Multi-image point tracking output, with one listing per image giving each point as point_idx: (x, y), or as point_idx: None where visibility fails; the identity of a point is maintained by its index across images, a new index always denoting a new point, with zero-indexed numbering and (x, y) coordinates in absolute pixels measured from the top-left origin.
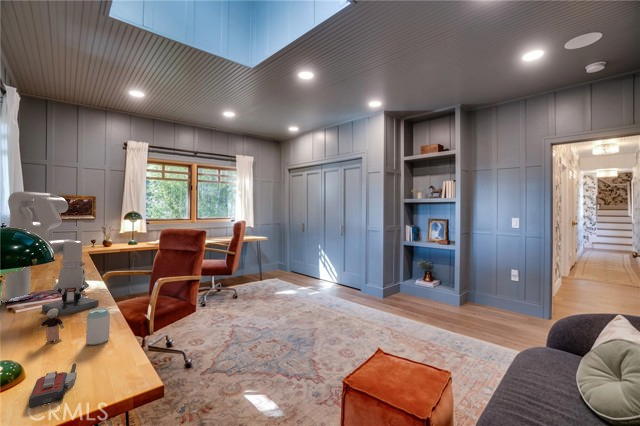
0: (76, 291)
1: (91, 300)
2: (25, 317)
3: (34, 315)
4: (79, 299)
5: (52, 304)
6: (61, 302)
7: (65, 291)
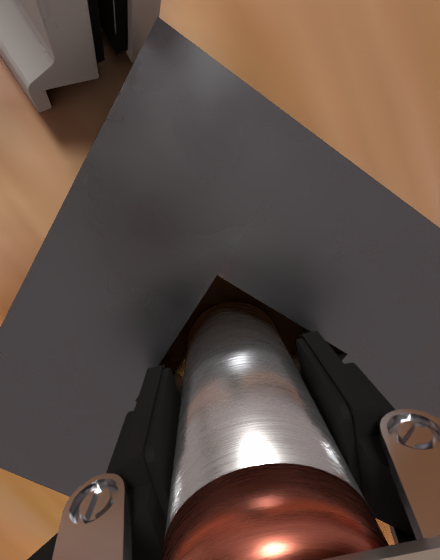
0: (361, 495)
1: None
2: (3, 534)
3: (34, 498)
4: (273, 239)
5: (59, 437)
6: (110, 366)
7: (123, 532)
